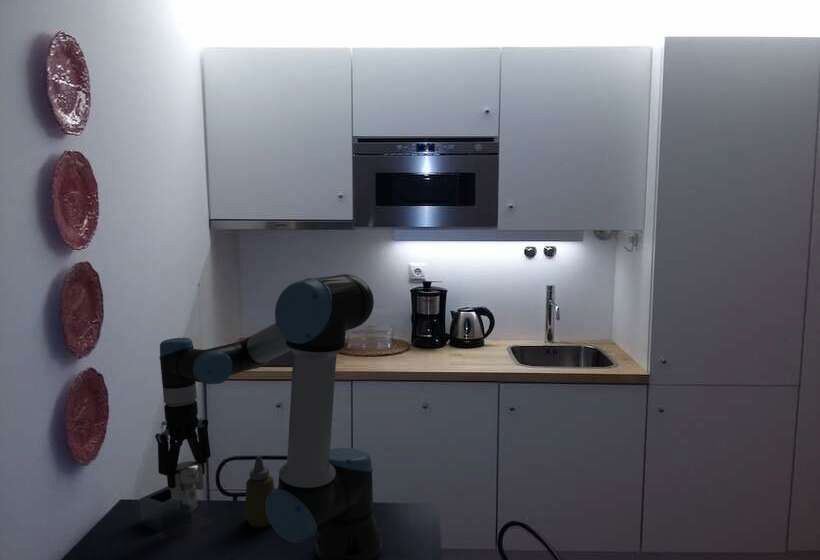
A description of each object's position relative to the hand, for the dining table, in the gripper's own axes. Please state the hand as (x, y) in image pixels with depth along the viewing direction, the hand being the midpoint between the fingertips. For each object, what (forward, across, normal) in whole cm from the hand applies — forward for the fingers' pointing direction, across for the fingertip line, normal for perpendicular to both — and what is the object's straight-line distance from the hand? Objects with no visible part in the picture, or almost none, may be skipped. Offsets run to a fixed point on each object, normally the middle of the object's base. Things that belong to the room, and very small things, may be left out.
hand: (187, 493), depth 147 cm
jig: (+10, 0, -6) cm, 11 cm away
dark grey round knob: (+3, 0, 0) cm, 3 cm away
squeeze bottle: (+10, -11, +13) cm, 20 cm away
